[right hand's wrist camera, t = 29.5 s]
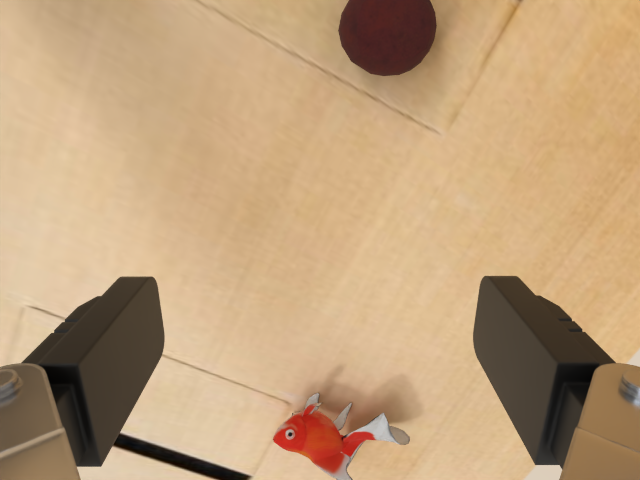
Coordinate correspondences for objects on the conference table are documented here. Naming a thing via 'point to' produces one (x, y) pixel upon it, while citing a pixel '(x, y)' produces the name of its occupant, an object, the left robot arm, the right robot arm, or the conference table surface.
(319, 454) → the fish
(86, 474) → the conference table surface
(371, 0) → the dark red ball
